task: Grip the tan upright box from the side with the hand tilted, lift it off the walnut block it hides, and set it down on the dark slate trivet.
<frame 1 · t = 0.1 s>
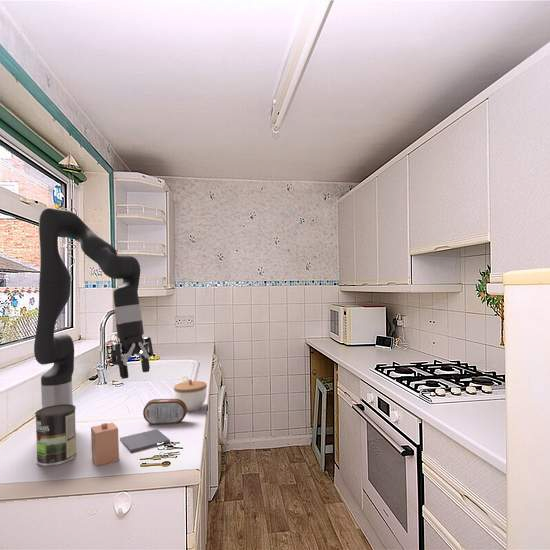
hand: (135, 375, 124), 22 cm above the worktop, tool pointing down, fingers open, 8 cm apart
block: (105, 452, 118), in the tan upright box
tin: (165, 423, 146), on the worktop
trivet: (144, 441, 130), on the worktop
coffee can: (57, 459, 120), on the worktop
tan upright box: (105, 459, 118), on the worktop
lidded bowl: (191, 408, 162), on the worktop
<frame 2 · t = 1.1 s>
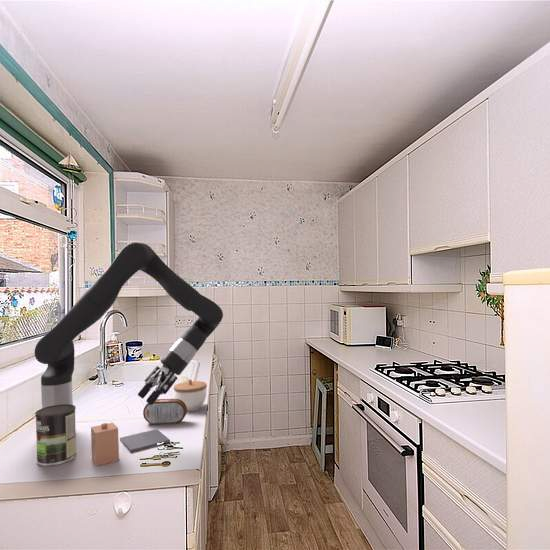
hand: (144, 399, 124), 15 cm above the worktop, tool tilted 45°, fingers open, 8 cm apart
nothing on the worktop moved.
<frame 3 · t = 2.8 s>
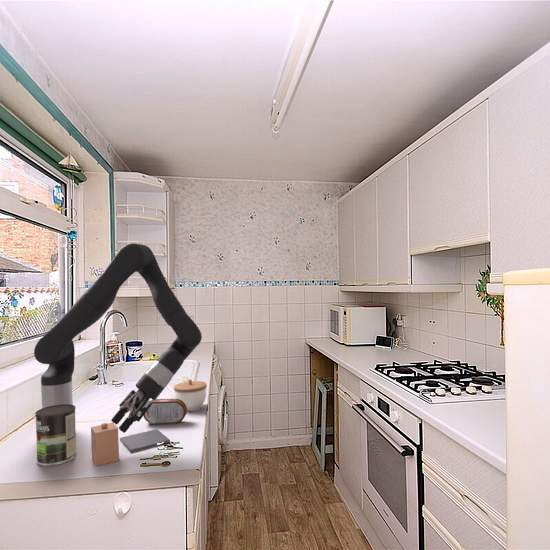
hand: (117, 426, 120), 8 cm above the worktop, tool tilted 45°, fingers open, 8 cm apart
nothing on the worktop moved.
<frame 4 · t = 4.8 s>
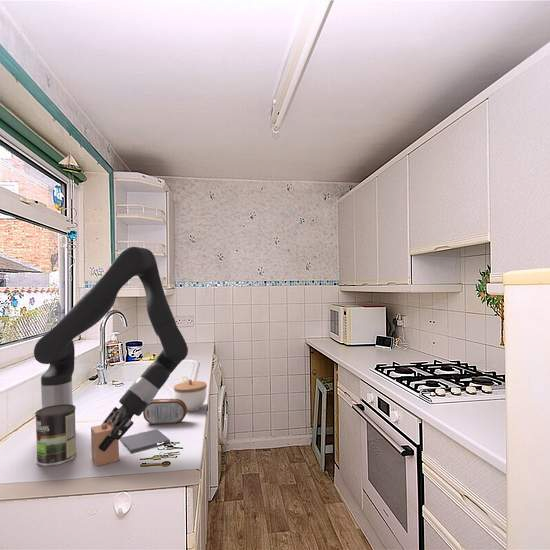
hand: (98, 445, 117), 4 cm above the worktop, tool tilted 45°, fingers closed on tan upright box, 6 cm apart
tan upright box: (105, 459, 118), on the worktop, touching gripper
everything else where it was.
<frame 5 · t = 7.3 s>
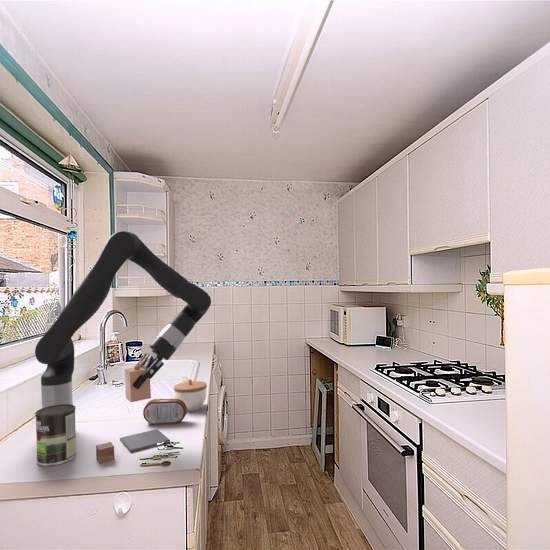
hand: (132, 385, 127), 18 cm above the worktop, tool tilted 45°, fingers closed on tan upright box, 6 cm apart
tan upright box: (138, 398, 128), point 14 cm above the worktop, touching gripper
everything else where it was.
when the fingers open (6 cm above the worktop, at t = 10.3 s): tan upright box drops 1 cm, resting on trivet.
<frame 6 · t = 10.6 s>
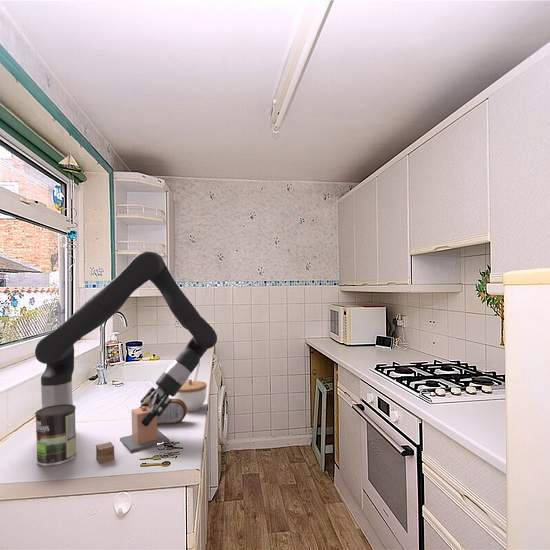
hand: (139, 421, 129), 7 cm above the worktop, tool tilted 45°, fingers open, 8 cm apart
tan upright box: (144, 438, 130), point 1 cm above the worktop, touching trivet
everything else where it was.
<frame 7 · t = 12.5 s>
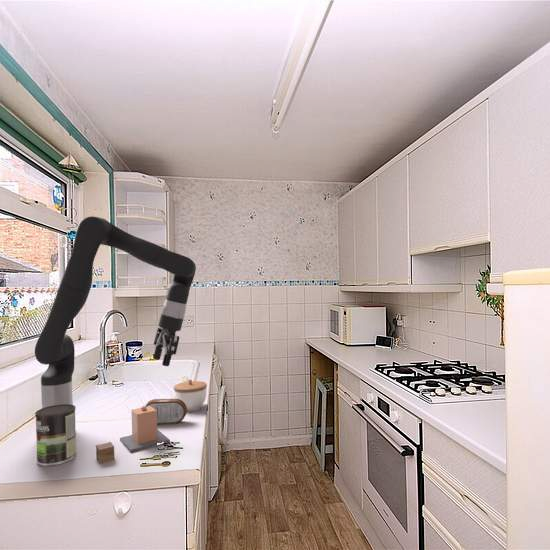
hand: (160, 362, 138), 23 cm above the worktop, tool tilted 15°, fingers open, 8 cm apart
nothing on the worktop moved.
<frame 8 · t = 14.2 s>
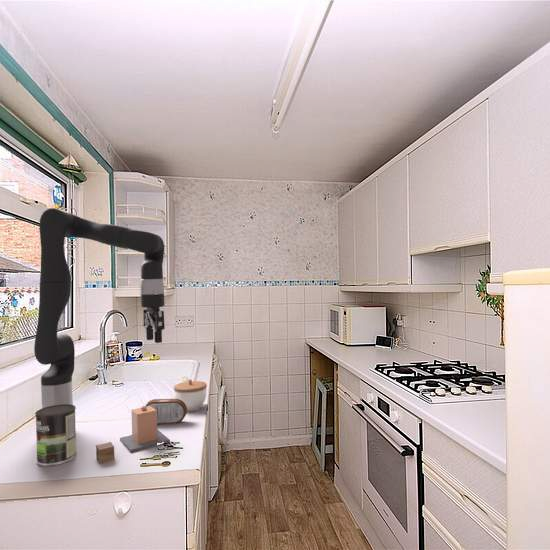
hand: (154, 341, 139), 30 cm above the worktop, tool pointing down, fingers open, 8 cm apart
nothing on the worktop moved.
at the end: tan upright box inside the target area on the trivet (0.1 cm from its centre), point 0.8 cm above the trivet's base; tan upright box tilted 0°; the gripper is holding nothing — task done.
